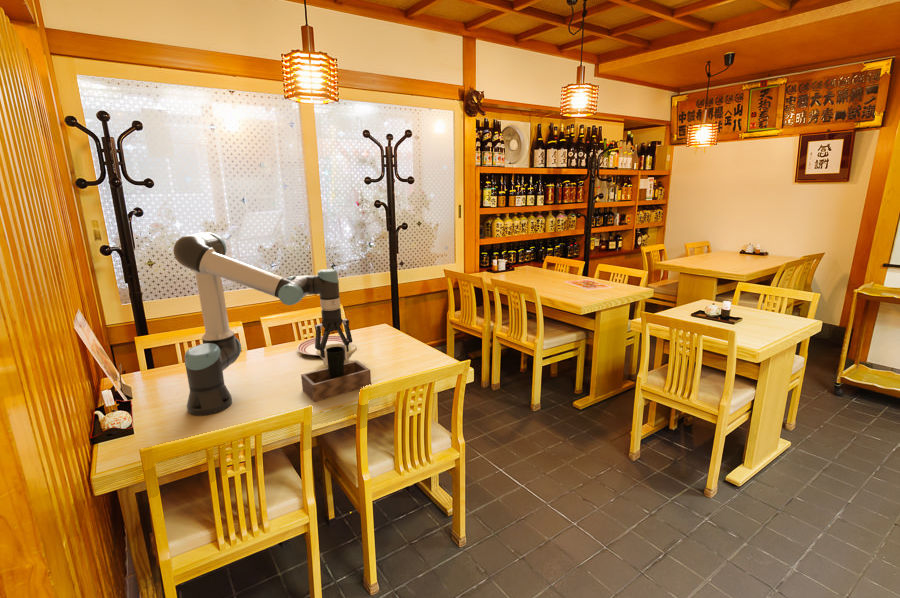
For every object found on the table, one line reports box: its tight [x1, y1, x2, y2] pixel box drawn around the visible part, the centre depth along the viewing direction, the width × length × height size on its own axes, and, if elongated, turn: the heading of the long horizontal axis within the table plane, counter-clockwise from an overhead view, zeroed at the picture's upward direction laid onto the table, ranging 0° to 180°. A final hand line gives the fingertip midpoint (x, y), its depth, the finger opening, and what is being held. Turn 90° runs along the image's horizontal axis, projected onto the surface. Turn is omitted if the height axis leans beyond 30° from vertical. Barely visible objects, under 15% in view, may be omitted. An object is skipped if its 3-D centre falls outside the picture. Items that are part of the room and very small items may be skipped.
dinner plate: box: [296, 335, 353, 357], centre depth 230 cm, size 27×27×3 cm
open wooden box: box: [300, 360, 372, 403], centre depth 184 cm, size 24×13×7 cm, turn 127°
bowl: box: [316, 343, 357, 364], centre depth 210 cm, size 14×18×15 cm
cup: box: [326, 347, 344, 379], centre depth 183 cm, size 8×8×12 cm
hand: (335, 362), depth 182 cm, fingers closed on cup, 8 cm apart
